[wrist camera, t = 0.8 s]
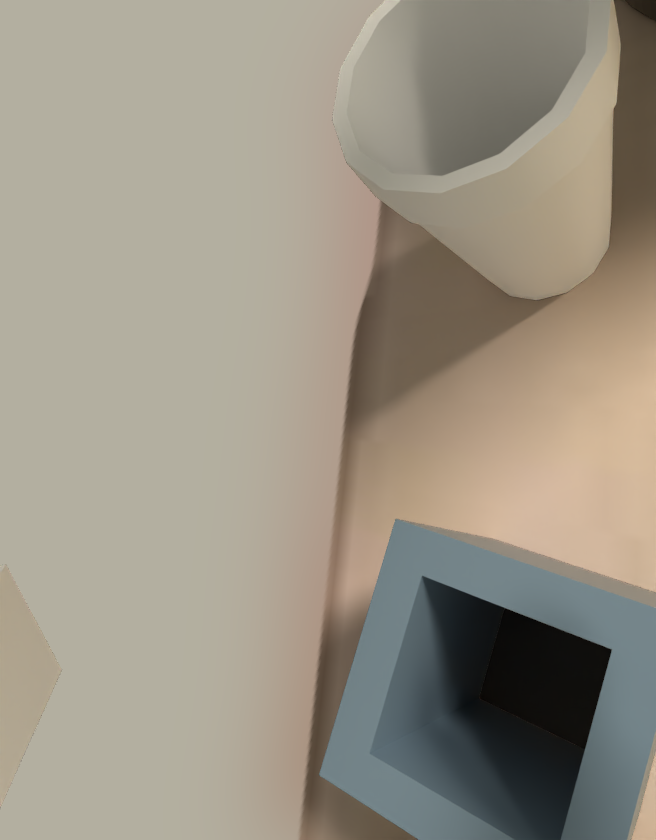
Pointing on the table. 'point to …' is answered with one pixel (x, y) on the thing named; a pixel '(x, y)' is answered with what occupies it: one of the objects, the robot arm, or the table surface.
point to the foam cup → (490, 130)
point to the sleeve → (479, 720)
